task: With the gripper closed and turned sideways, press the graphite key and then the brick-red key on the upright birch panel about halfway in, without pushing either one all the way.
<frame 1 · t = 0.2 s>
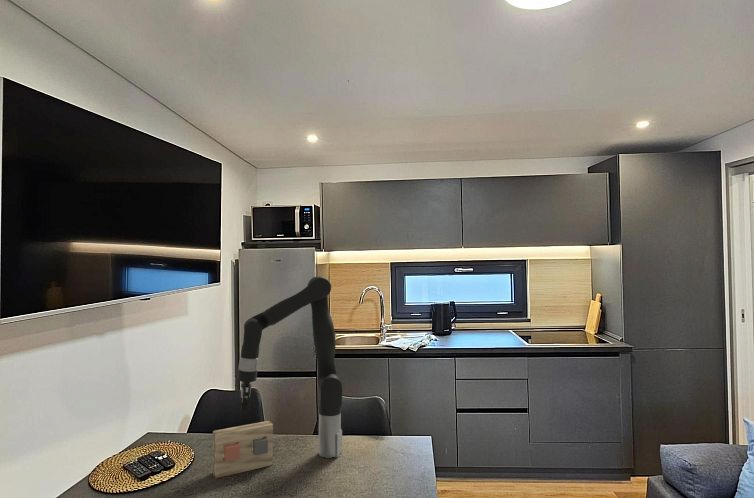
hand: (243, 408, 186), 22 cm above the table, tool pointing down, fingers open, 8 cm apart
graphite key: (260, 446, 180), point 9 cm above the table, slide at 0.0 cm
brick red key: (231, 452, 174), point 9 cm above the table, slide at 0.0 cm
key panel: (243, 468, 181), on the table
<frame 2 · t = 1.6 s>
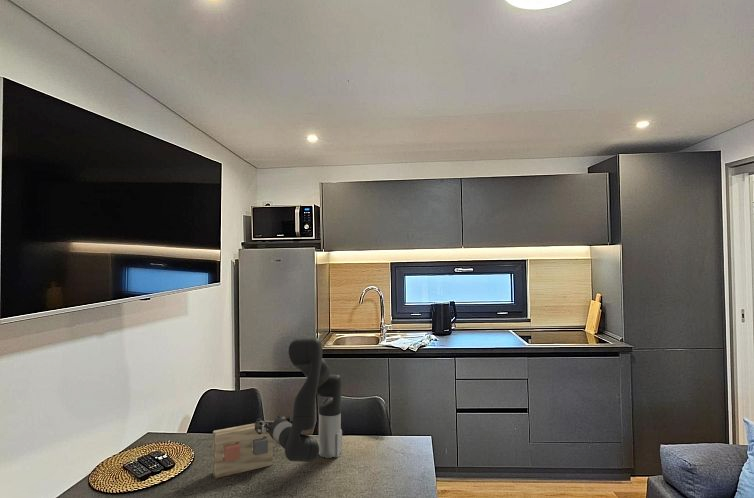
hand: (268, 419, 173), 22 cm above the table, tool horizontal, fingers open, 7 cm apart
nothing on the table moved.
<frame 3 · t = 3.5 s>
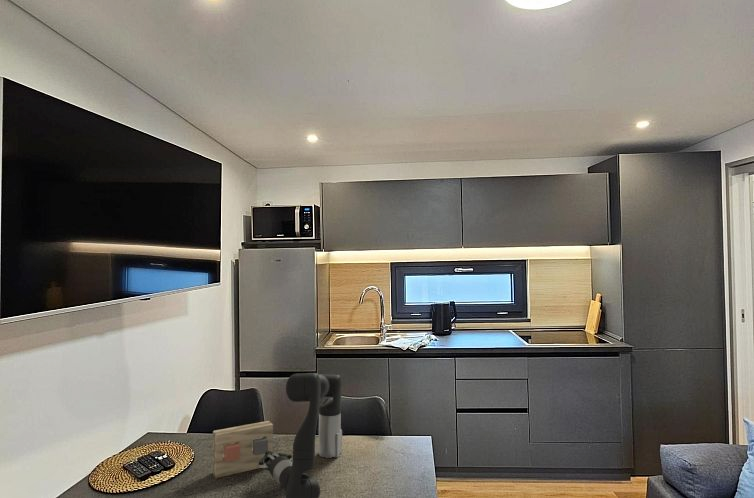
hand: (267, 453, 173), 9 cm above the table, tool horizontal, fingers closed
nothing on the table moved.
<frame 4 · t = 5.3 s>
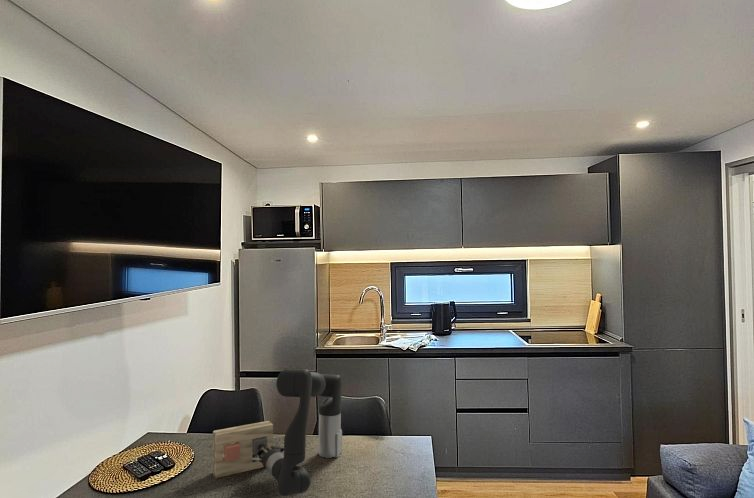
hand: (261, 446, 180), 9 cm above the table, tool horizontal, fingers closed
graphite key: (259, 445, 181), point 9 cm above the table, slide at 0.9 cm, touching gripper
everything else where it was.
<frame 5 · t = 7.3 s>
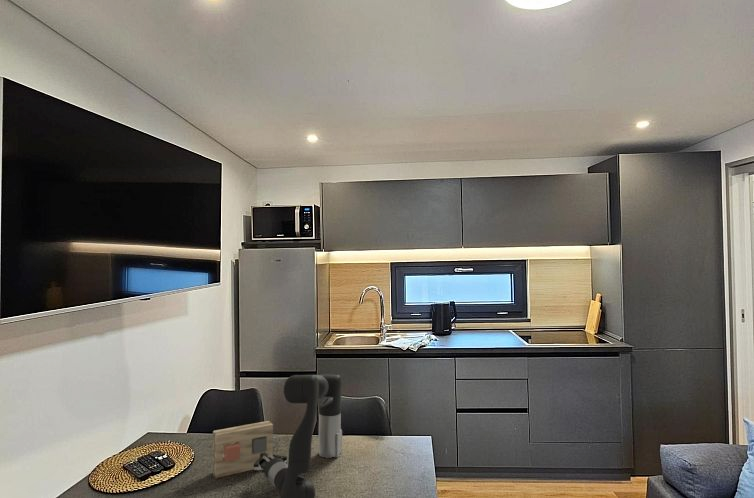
hand: (262, 455, 172), 9 cm above the table, tool horizontal, fingers closed
graphite key: (259, 444, 182), point 9 cm above the table, slide at 1.6 cm
everything else where it was.
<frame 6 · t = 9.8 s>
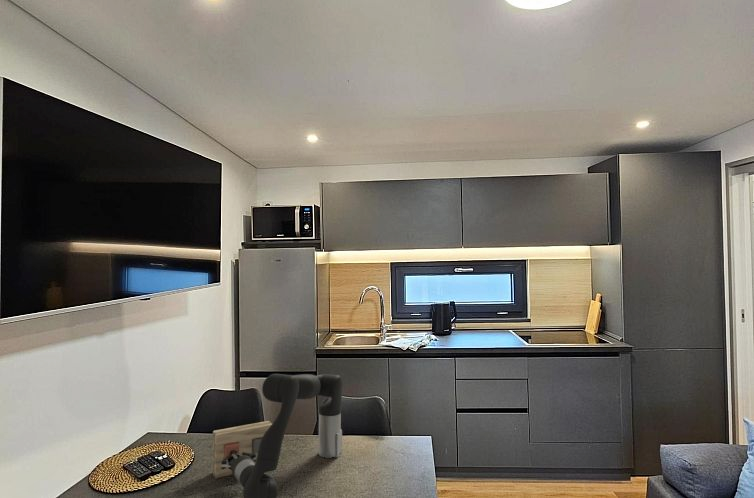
hand: (232, 452, 174), 9 cm above the table, tool horizontal, fingers closed
brick red key: (231, 451, 175), point 9 cm above the table, slide at 1.0 cm, touching gripper
everything else where it was.
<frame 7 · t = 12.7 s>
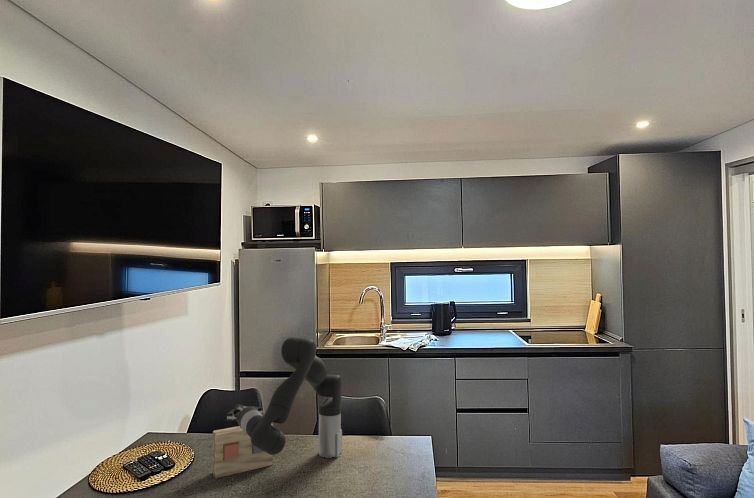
hand: (238, 407, 168), 28 cm above the table, tool horizontal, fingers closed
brick red key: (230, 450, 176), point 9 cm above the table, slide at 1.6 cm
everything else where it was.
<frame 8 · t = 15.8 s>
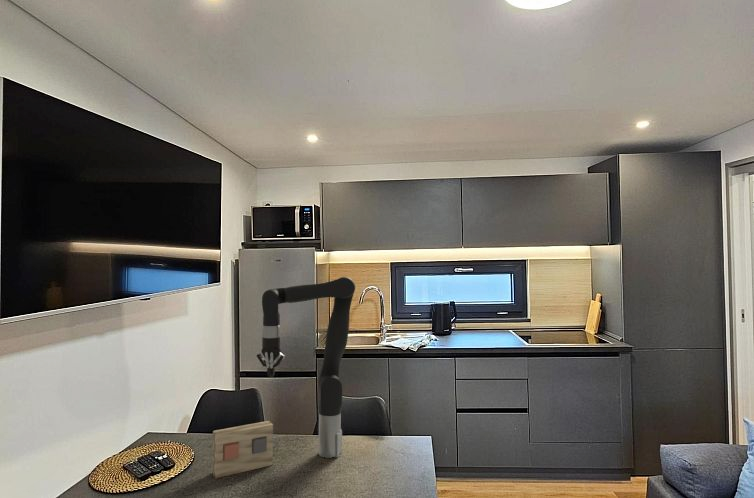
hand: (270, 376, 197), 32 cm above the table, tool pointing down, fingers closed
nothing on the table moved.
at the end: graphite key slide at 1.6 cm; brick red key slide at 1.6 cm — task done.
